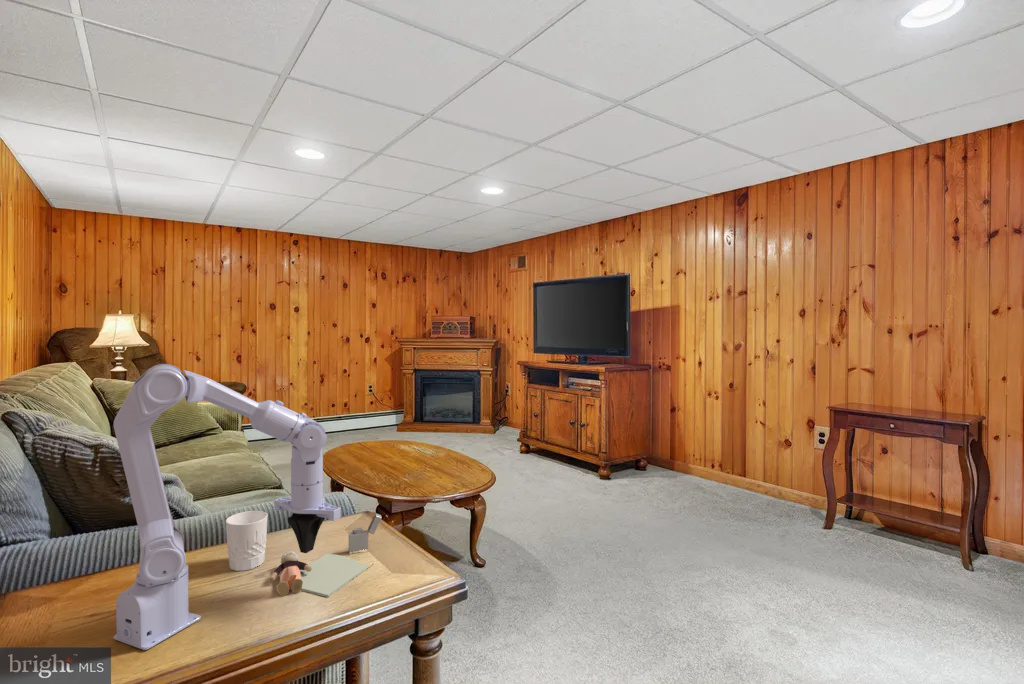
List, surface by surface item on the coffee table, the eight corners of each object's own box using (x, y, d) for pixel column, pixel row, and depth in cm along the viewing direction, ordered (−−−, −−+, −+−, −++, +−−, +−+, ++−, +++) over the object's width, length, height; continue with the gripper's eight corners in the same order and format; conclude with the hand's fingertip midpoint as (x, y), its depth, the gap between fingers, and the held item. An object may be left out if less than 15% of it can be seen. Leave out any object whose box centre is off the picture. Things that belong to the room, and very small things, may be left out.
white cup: (236, 576, 103) (236, 528, 102) (219, 565, 107) (219, 518, 107) (274, 562, 109) (274, 516, 108) (256, 552, 114) (256, 508, 113)
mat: (328, 597, 95) (328, 595, 95) (279, 584, 100) (279, 582, 100) (373, 564, 108) (373, 562, 108) (328, 554, 113) (328, 552, 113)
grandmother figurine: (272, 578, 94) (270, 547, 106) (269, 598, 94) (267, 565, 106) (316, 575, 98) (309, 546, 109) (312, 594, 98) (306, 563, 109)
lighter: (349, 554, 113) (349, 519, 113) (348, 551, 115) (348, 516, 114) (381, 549, 116) (381, 514, 116) (380, 546, 117) (380, 512, 117)
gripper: (351, 480, 99) (351, 548, 99) (293, 471, 104) (293, 536, 105) (326, 491, 92) (325, 564, 93) (265, 481, 97) (265, 550, 98)
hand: (306, 550), depth 98 cm, fingers closed
